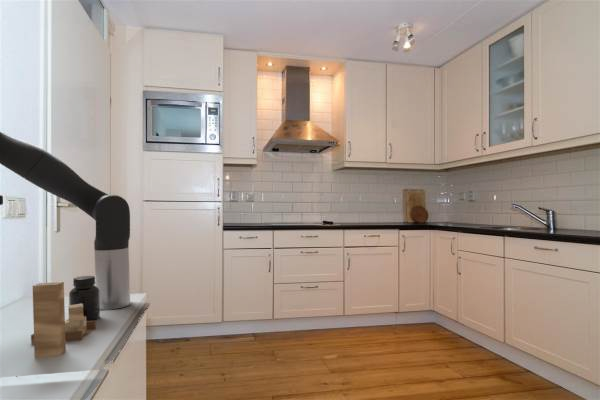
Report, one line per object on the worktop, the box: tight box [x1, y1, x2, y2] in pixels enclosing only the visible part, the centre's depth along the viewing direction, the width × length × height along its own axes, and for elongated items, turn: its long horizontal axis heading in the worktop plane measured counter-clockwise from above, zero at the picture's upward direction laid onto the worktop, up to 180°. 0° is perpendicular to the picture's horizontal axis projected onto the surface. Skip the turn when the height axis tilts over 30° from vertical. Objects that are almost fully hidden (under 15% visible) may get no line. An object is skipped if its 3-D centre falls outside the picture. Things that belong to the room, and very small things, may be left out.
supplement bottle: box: [68, 275, 101, 321], centre depth 98 cm, size 7×7×12 cm
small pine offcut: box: [67, 303, 84, 322], centre depth 87 cm, size 3×3×3 cm
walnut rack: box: [30, 320, 97, 345], centre depth 86 cm, size 8×10×3 cm
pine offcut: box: [65, 317, 87, 334], centre depth 86 cm, size 4×3×4 cm
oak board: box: [32, 281, 67, 359], centre depth 76 cm, size 2×4×15 cm, turn 96°
